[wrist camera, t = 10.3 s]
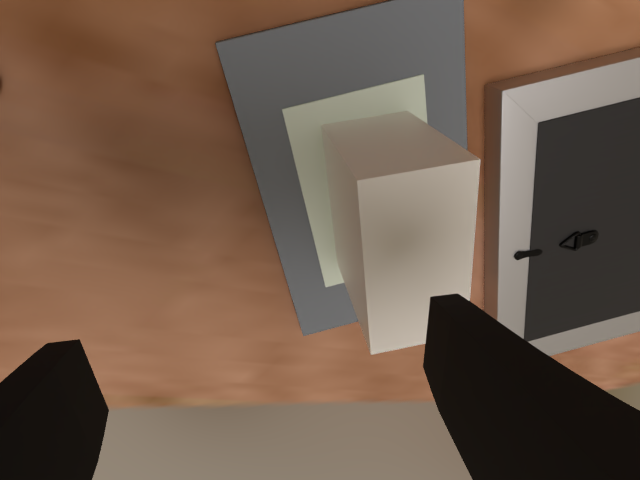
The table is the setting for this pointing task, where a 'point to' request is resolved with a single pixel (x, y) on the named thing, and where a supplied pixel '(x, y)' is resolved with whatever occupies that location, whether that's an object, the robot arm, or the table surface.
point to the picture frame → (564, 202)
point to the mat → (336, 118)
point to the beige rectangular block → (400, 221)
